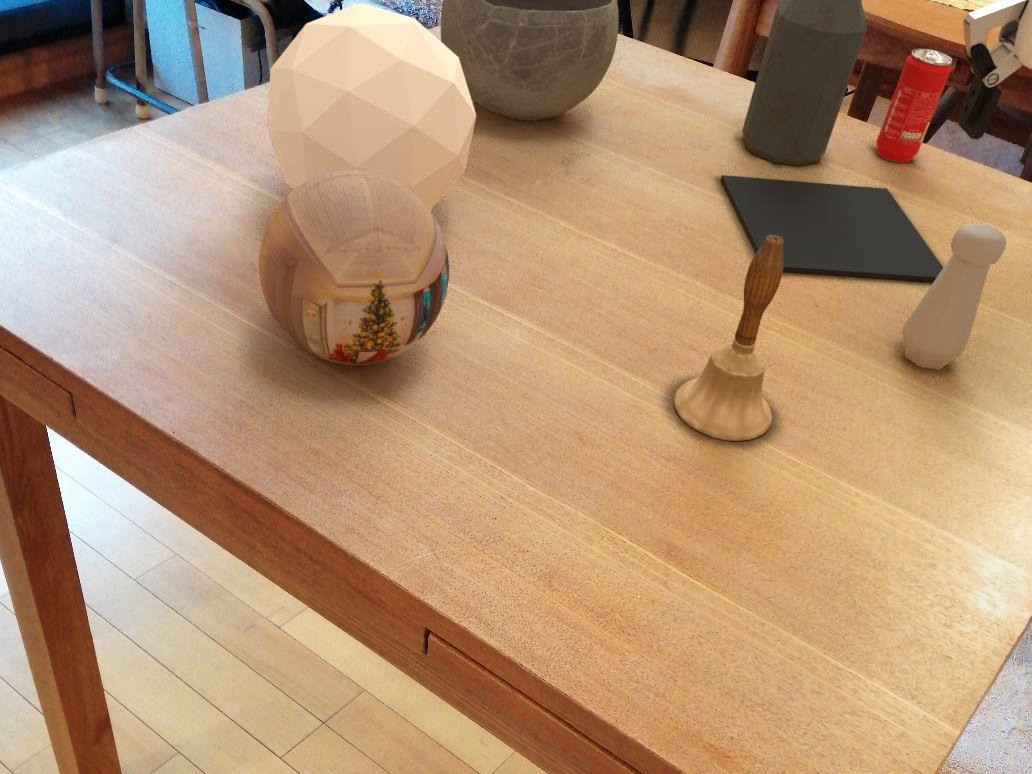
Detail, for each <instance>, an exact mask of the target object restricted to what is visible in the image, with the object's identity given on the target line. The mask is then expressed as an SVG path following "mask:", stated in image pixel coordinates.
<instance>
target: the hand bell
mask: <svg viewBox="0 0 1032 774" xmlns="http://www.w3.org/2000/svg"><path fill="white" fill-rule="evenodd" d="M783 274H784V272H783V239H782V237H780V236H777V235H769V236H767V237H766V239H765V241H764V243H763V245H762V246H761V248H760V249H759V250H758V252H757V253H756V252H755V255H754V256H753V258H752V259H751V261H750V263H749V266H748V268H747V272H746V275H745V278H744V279H745V280H744V285H743V308H742V314H741V316H740V318H739V319H740V320H739V322H738V325H737V327H736V331H735V333H734V339H733V342H725V343H722V344H719V345H718V346H716V347H715V348H714V349H713V350H712V352H711V354H710V356H709V358H708V361H707V363H706V364H705V366H704V368H703V369H702V371H701V372H700V374H699V375H698V376H697V377H694V378H692V379H690V380H688V381H686V382H684V383H683V384H682V385H680V386H679V388H678V389H677V390H676V391H675V394H674V397H673V404H674V405H673V406H674V408H675V411H676V412H677V414H678V416H679V417H680V419H681V420H682V421H683V422H684V423H685V424H686V425H687V426H689V427H691V428H692V429H694V430H695V431H697V432H699V433H701V434H703V435H706V436H709V437H711V438H714V439H717V440H721V441H722V440H723V441H730V442H741V441H750V440H753V439H756V438H759V437H761V436H762V435H764V434H765V433H767V431H768V430H769V429H770V427H771V425H772V420H773V416H772V410H771V408H770V405H769V403H768V401H767V400H766V398H765V397H764V395H763V393H764V392H763V386H764V385H763V383H764V376H765V371H766V367H767V366H766V364H767V363H766V360H765V358H764V356H763V354H761V353H760V352H759V351H758V350H756V349H755V346H756V341H757V338H758V333H759V329H760V325H761V321H762V318H763V315H764V313H765V311H766V309H767V308H768V307H769V305H770V303H771V302H772V301H773V299H774V297H775V296H776V293H777V291H778V289H779V287H780V284H781V280H782V277H783Z"/></svg>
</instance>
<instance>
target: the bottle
mask: <svg viewBox="0 0 1032 774" xmlns="http://www.w3.org/2000/svg"><path fill="white" fill-rule="evenodd" d="M867 30H868V26H867V21H866V16H865V11H864V6H863V1H862V0H781V1H780V2H779V3H778V5H777V6H776V9H775V12H774V16H773V20H772V23H771V28H770V31H769V34H768V37H767V41H766V44H765V48H764V52H763V55H762V59H761V63H760V66H759V69H758V73H757V77H756V80H755V83H754V86H753V90H752V94H751V97H750V101H749V105H748V108H747V112H746V116H745V119H744V123H743V126H742V130H741V131H742V136H743V140H744V145H745V148H746V149H747V150H748V151H749V152H750V153H751V154H753V155H755V156H758V157H759V158H762V159H764V160H767V161H769V162H771V163H773V164H782V165H787V166H794V167H799V166H805V165H810V164H815V163H816V162H817V161H818V160H820V158H821V157H822V156H823V155H825V153H826V151H827V148H828V145H829V143H830V139H831V136H832V134H833V131H834V128H835V124H836V121H837V118H838V115H839V113H840V109H841V107H842V104H843V100H844V98H845V95H846V92H847V89H848V86H849V83H850V80H851V77H852V75H853V72H854V68H855V65H856V63H857V59H858V56H859V55H860V51H861V48H862V45H863V42H864V39H865V36H866V33H867Z"/></svg>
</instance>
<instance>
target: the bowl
mask: <svg viewBox="0 0 1032 774" xmlns="http://www.w3.org/2000/svg"><path fill="white" fill-rule="evenodd" d="M440 13H441V14H440V41H441V42H442V43H443V44H444V45H445V46H446V47H447V48H449V49H450V50H451V51H452V52H453V53H454V54H455V55H456V56H458V57H459V60H460V64H461V67H462V70H463V74H464V77H465V80H466V83H467V87H468V90H469V93H470V97H471V100H472V102H474V103H476V104H477V105H478V106H479V107H482V108H483V109H485V110H488V111H490V112H492V113H494V114H496V115H500V116H502V117H505V118H508V119H512V120H523V121H524V120H525V121H534V120H535V121H537V120H544V119H549V118H554V117H557V116H560V115H562V114H565V113H566V112H568V111H570V110H573V109H574V108H575V107H577V106H578V105H580V104H581V103H582V102H584V101H585V100H586V99H588V97H589V96H591V95H592V94H593V93H594V91H595V90H596V89H597V88H598V87H599V86H600V84H601V82H602V81H603V80H604V78H605V76H606V74H607V72H608V70H609V68H610V66H611V64H612V61H613V59H614V55H615V51H616V47H617V42H618V34H619V7H618V0H442V4H441V12H440Z"/></svg>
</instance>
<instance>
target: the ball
mask: <svg viewBox="0 0 1032 774" xmlns="http://www.w3.org/2000/svg"><path fill="white" fill-rule="evenodd" d="M269 70H270V71H269V87H268V98H267V99H268V102H267V103H268V104H267V116H266V128H267V131H268V134H269V137H270V140H271V144H272V147H273V150H274V153H275V156H276V160H277V162H278V165H279V169H280V172H281V174H282V177H283V181H284V183H285V184H286V185H287V186H288V187H289V188H290V189H292V191H293V190H294V189H295V188H297V187H298V186H300V185H301V184H303V183H305V182H306V181H308V180H310V179H312V178H314V177H317V176H320V175H322V174H325V173H329V172H333V171H340V170H362V171H368V172H373V173H377V174H381V175H383V176H386V177H389V178H391V179H393V180H395V181H396V182H398V183H400V184H402V185H403V186H405V187H406V188H408V189H409V190H410V191H411V192H413V193H414V194H415V195H416V196H417V197H419V199H420V200H421V201H422V202H423V203H424V204H425V205H426V207H427V208H428V209H429V210H430V211H431V210H432V209H433V208H434V207H435V206H436V204H437V203H439V201H440V200H441V199H442V197H443V196H444V195H445V194H446V193H447V192H448V190H450V189H451V187H452V186H453V185H454V184H455V183H456V182H457V180H458V179H459V178H460V177H461V176H462V174H463V173H464V172H465V171H466V168H467V165H468V159H469V153H470V148H471V144H472V139H473V134H474V128H475V123H476V119H477V113H476V110H475V107H474V103H473V100H472V99H471V97H470V93H469V90H468V87H467V83H466V80H465V77H464V74H463V70H462V67H461V64H460V60H459V57H458V56H456V55H455V54H454V53H453V52H452V51H451V50H450V49H449V48H447V47H446V46H445V45H444V44H443V43H442V42H441V40H439V38H437V37H436V36H435V35H434V34H433V33H431V31H429V30H428V29H427V27H425V26H424V25H423V24H422V23H421V22H420V21H418V20H417V19H416V18H415V17H411V16H408V15H404V14H401V13H397V12H394V11H390V10H387V9H383V8H380V7H377V6H373V5H370V4H366V3H362V2H357V3H355V4H352V5H350V6H347V7H345V8H342V9H340V10H337V11H335V12H332V13H330V14H327V15H324V16H322V17H319V18H318V19H314V20H312V21H310V22H306V23H305V24H304V25H303V27H302V28H301V30H300V31H298V33H297V34H296V36H295V37H294V38H293V40H292V41H291V42H290V43H289V45H288V46H287V47H286V48H285V49H284V51H283V52H282V53H281V55H280V56H279V57H278V59H277V60H276V61H275V62H274V64H273V65H272V66H271V67H270V69H269Z"/></svg>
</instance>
